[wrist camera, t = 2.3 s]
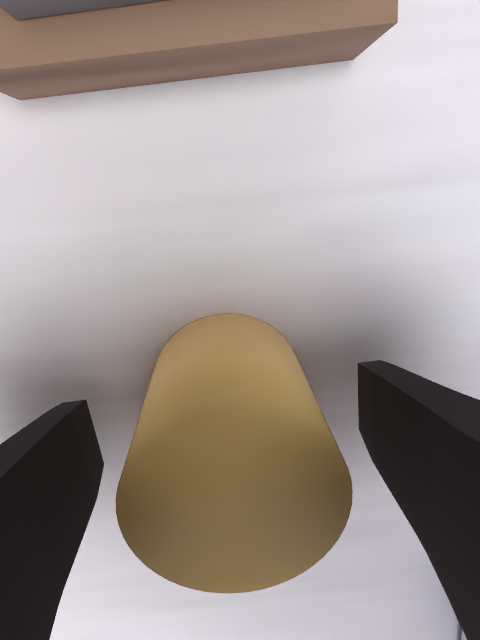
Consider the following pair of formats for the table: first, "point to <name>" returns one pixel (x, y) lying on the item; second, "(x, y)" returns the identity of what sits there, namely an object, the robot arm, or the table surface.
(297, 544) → the ochre cylinder
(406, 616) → the table surface
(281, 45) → the walnut base block
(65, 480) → the robot arm
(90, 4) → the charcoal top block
